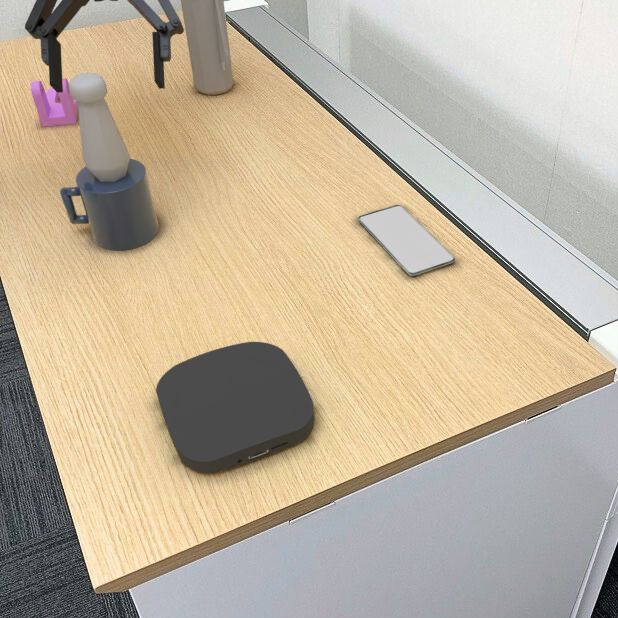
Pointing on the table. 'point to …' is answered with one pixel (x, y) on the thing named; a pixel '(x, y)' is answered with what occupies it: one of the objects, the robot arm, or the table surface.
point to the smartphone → (406, 240)
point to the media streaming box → (234, 406)
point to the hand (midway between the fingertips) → (108, 87)
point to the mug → (115, 208)
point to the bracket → (54, 104)
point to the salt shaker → (98, 129)
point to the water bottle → (208, 45)
